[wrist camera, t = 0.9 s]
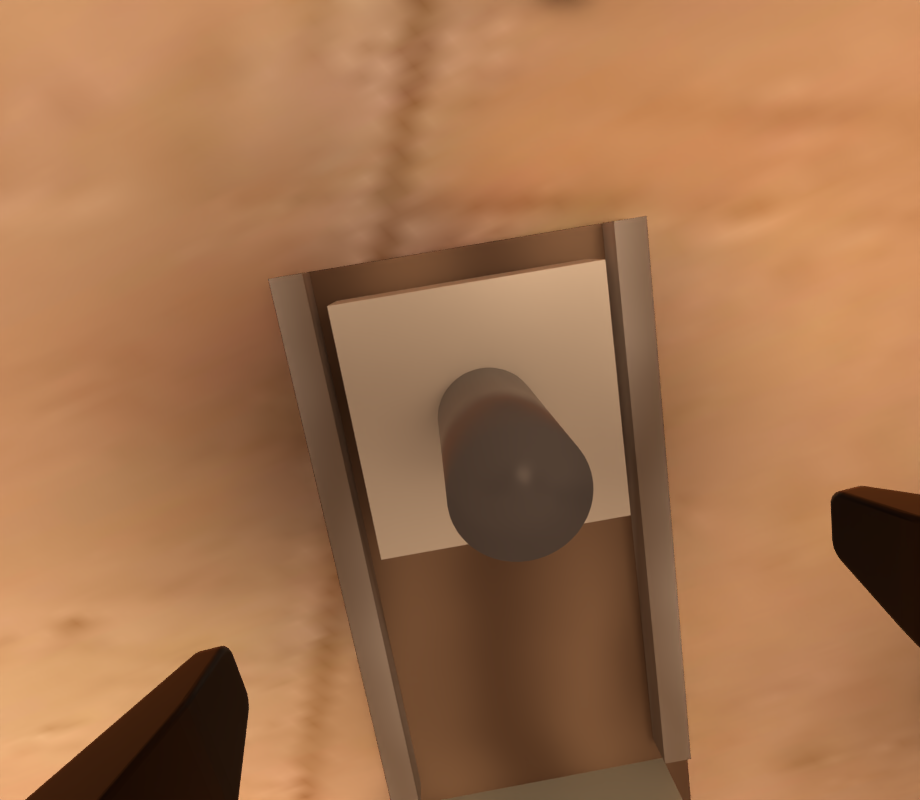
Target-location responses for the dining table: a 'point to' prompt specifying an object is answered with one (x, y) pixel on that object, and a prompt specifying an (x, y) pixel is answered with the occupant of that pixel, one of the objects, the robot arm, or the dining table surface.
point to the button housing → (595, 785)
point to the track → (505, 564)
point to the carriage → (486, 410)
